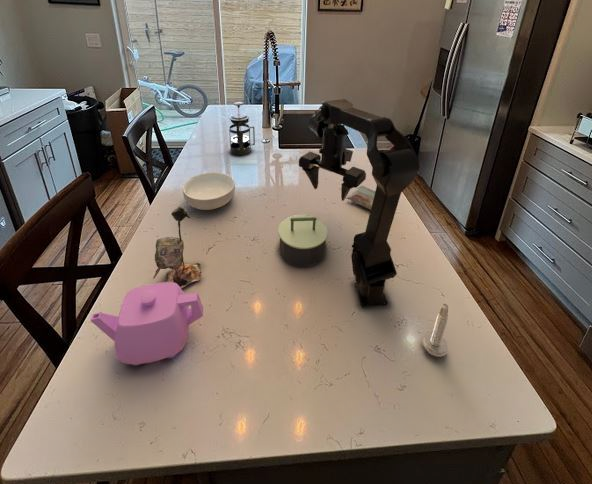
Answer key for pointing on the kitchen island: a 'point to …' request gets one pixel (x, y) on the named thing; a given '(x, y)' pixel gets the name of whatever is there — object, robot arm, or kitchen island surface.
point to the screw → (437, 335)
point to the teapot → (151, 322)
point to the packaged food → (362, 197)
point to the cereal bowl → (209, 190)
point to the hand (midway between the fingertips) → (329, 194)
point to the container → (302, 254)
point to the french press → (240, 133)
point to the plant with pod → (175, 256)
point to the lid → (302, 231)
